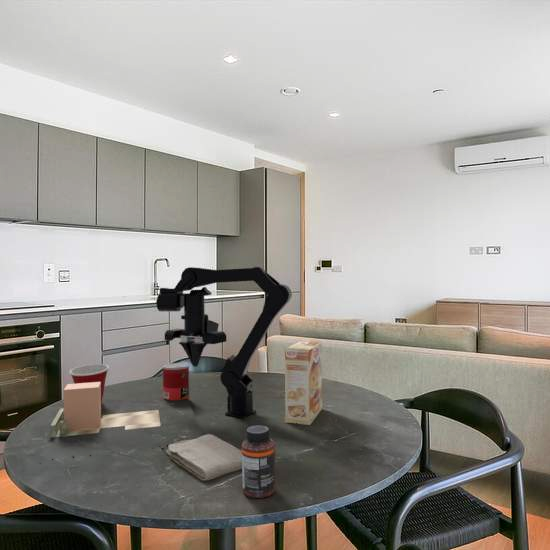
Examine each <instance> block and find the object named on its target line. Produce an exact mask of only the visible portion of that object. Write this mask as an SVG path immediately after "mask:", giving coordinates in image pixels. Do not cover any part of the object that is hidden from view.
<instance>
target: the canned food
mask: <svg viewBox="0 0 550 550" xmlns="http://www.w3.org/2000/svg"><path fill="white" fill-rule="evenodd" d="M189 366H190V365H189V364H188V363H184V362H173V363H167V364H164V365H163V366H162V396H163V397H162V398H163V399H164V400H167V401H181V400H183V401H184V400H186V399H187V401H189V399H190V367H189Z"/></svg>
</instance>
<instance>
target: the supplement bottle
mask: <svg viewBox="0 0 550 550" xmlns="http://www.w3.org/2000/svg"><path fill="white" fill-rule="evenodd" d="M241 451H242V469H241V470H242V472H241V475H242V476H241V482H242V485H241V487H242V492H243V494H244V495H245V496H247V497H249V498H254V499H263V498H266V497H269V496H271V495H272V494H274V492H275V491H276V458H275V457H276V455H275V454H276V452H275V451H276V450H275V442H274V441H273V439H272V438H270V429H269V427H268V426H265V425H251V426H249V427H247V429H246V438H245V439H244V440H243V441H242V444H241Z"/></svg>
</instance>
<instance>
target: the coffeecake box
mask: <svg viewBox="0 0 550 550" xmlns="http://www.w3.org/2000/svg"><path fill="white" fill-rule="evenodd" d="M322 344H323V343H322V341H314V340H313V341H312V340H311V341H309V340H299V341H298V342H296V343H293V344H292V345H290V346H288V347H286V348H284V405H285V406H284V411H285V413H284V414H285V419H284V421H285V422H284V423H288V424H289V423H291V424H296V423H297V425H305V426H311V424H312V423H313V422H314V420H315V419H316V417H317V416H318V415H319V413H320V412H321V411H322V409H323V388H322V387H323V379H322V378H323V370H322V369H323V367H322V366H323V363H322V362H323V360H322V359H323V357H322V356H323V355H322V354H323V353H322V351H323V349H322V348H323V345H322Z"/></svg>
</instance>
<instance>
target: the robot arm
mask: <svg viewBox="0 0 550 550" xmlns="http://www.w3.org/2000/svg"><path fill="white" fill-rule="evenodd" d="M232 282H233V283H236V282H237V283H238V282H254V283H255V284H257V286H258V287H259V288H260V289H261V290H262V291H263V292H264V293H265V294H266V298H265V301H264V304H263V307H262V311H261V313H260V314H259V316H258V318H257V320H256V322H255V324H254V325H253V327H252V328H251V330H250V332H249V334H248V336H247V338H246V339H245V340H244V343H243V345H242V346H241V348H240V349H239V351H238V353H237V354H236V355H234V354H231V355H230V356H229V357H228V358H227V359H226V361H225V364H224V366H223V368H221V369H220V370H219V371H220V372H221V373H220V377H219V378H220V382H221V384H222V385H223V386H224V387H225V389H226V391H227V399H226V402H227V403H226V404H227V407H226V408H227V411H225V412H224V415H225V416H231V417H235V418H241V419H243V418H246V417H248V416H251V415H252V414H255V413H257V410H256V409H254V406H253V405H254V404H253V402H254V399H253V398H254V396H253V395H254V393H253V390H252V391H251V389H252V388H253V384H254V380H253V379H252V378H251V377H250V376H249V375H248V374H247V373H248V371H249V367H250V364H251V360H252V358H253V356H254V355H255V353H256V351H257V349H258V348H259V346H260V344H261V342H262V341H263V340H264V337H265V335H266V334H267V333H268V331H269V328H270V327H271V325H272V324H273V322H274V320H275V318H276V317H277V316H278V315H279V313H281V311H283V309H284V308H285V307H286V306H287V305H288V304H289V302H290V301H291V299H292V296H293V294H292V290H291V288H290V287H289V286H288V285H287V284H284V283H283V284H282V283H280V282H279V281H278V280H276V278H274V277H273V276H272V275H271V274H269V273H268V271H266V269H264V268H263V267H261V266H254V267H246V268H228V269H226V268H225V269H210V268H203V267H194V266H193V267H186V268H184V269H183V271H182V273H181V275H180V279H179V281H178V282H177V284H176V286H175V287H174V288H169V287H160V288H159V293H158V295H157V298H156V308H157V310H158V311H159V312H180V311H181V310H182V308H183V312H184V313H183V315H181V316H180V319H181V320H183V322H184V326H183V327H184V328H172V329H167V330H166V331H165V332H164V340H165V341H169V342H170V341H171V342H172V341H173V340H174V339H180V341H179V342H178V344H179V345H181V347H182V349H183V351H184V352H185V353H186V356H187V357H188V360H189V361H190V363H191V365H192V367H194V368H196V367H198V365H199V363H200V360H201V356H202V354H203V351H204V349H205V347H206V346H207V345H217V344H221V343H227V334H226V333H225V331H218V330H219V323H218V322H215V321H213V320H210V319H209V315H208V314H206V313H205V307H206V306H205V296H206V297H207V296H211V295H212V292H211V291H210V290H209V289H208V288H207V287H206V286H209V285H213V284H217V283H232ZM201 287H202V288H201ZM195 288H201V289H195ZM188 291H189V293H187V292H188ZM185 292H186V293H185Z"/></svg>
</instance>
